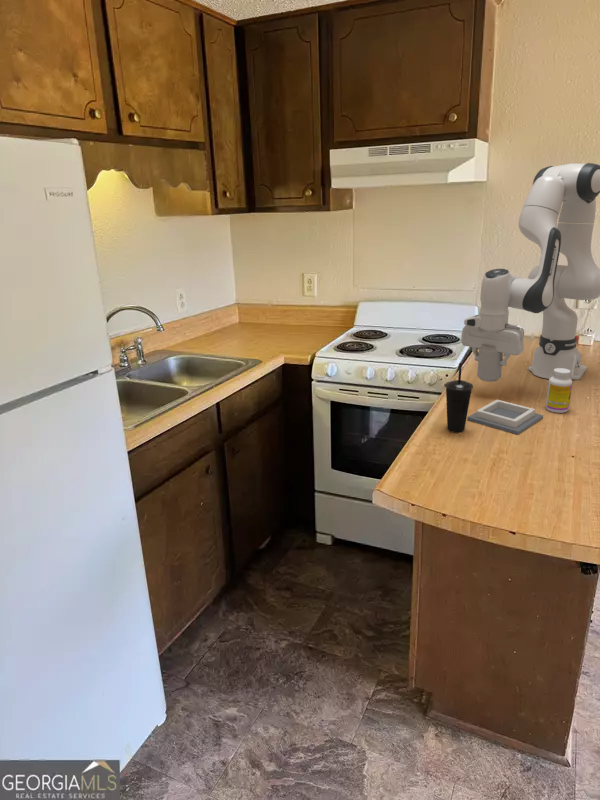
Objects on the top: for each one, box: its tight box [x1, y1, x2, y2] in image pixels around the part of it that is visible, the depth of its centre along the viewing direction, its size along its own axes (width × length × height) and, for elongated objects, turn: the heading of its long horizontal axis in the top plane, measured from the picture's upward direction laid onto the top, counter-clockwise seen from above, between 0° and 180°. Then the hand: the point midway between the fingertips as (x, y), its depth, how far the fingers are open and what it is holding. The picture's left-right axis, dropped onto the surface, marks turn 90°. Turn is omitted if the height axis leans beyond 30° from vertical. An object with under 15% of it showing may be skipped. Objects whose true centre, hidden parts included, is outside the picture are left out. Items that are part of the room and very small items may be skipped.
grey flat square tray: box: [466, 399, 544, 436], centre depth 171 cm, size 16×16×3 cm
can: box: [476, 344, 504, 383], centre depth 186 cm, size 8×8×12 cm
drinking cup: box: [444, 362, 474, 433], centre depth 163 cm, size 8×8×20 cm
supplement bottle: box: [545, 368, 573, 414], centre depth 175 cm, size 7×7×13 cm
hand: (490, 363), depth 187 cm, fingers closed on can, 7 cm apart
